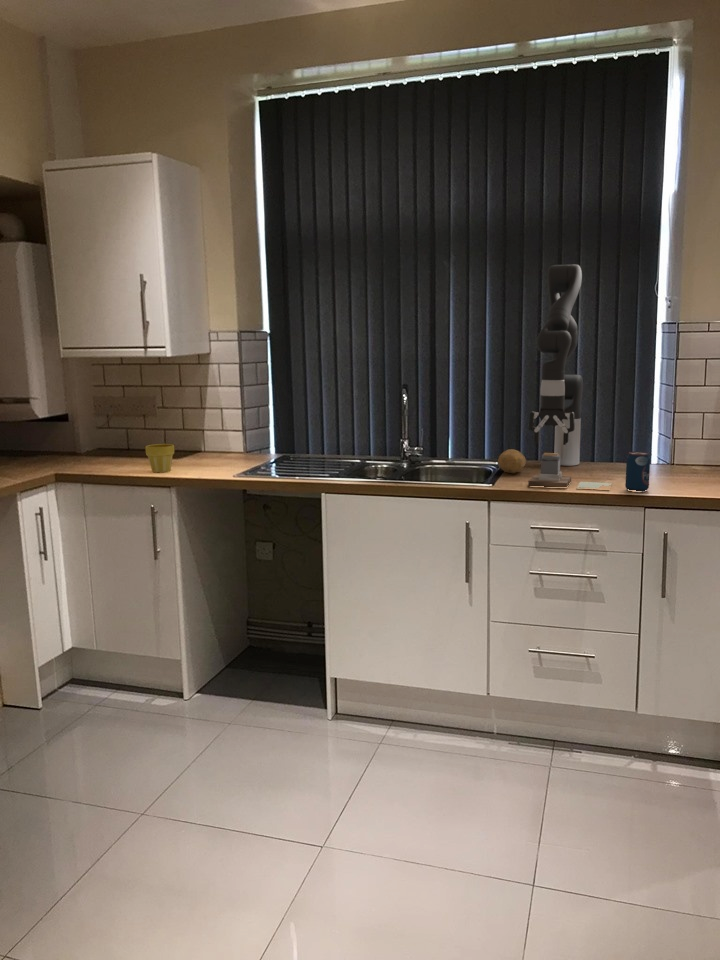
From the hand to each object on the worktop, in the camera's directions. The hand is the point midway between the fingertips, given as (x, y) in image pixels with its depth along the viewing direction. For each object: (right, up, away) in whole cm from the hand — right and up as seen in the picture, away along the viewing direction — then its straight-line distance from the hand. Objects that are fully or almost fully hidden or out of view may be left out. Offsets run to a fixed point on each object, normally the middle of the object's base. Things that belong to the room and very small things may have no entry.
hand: (551, 444), depth 262 cm
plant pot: (-136, -9, +40) cm, 142 cm away
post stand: (0, -13, +3) cm, 13 cm away
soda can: (+25, -15, -9) cm, 30 cm away
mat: (+13, -14, -2) cm, 19 cm away
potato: (-8, -9, +25) cm, 28 cm away
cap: (0, -9, +2) cm, 9 cm away
